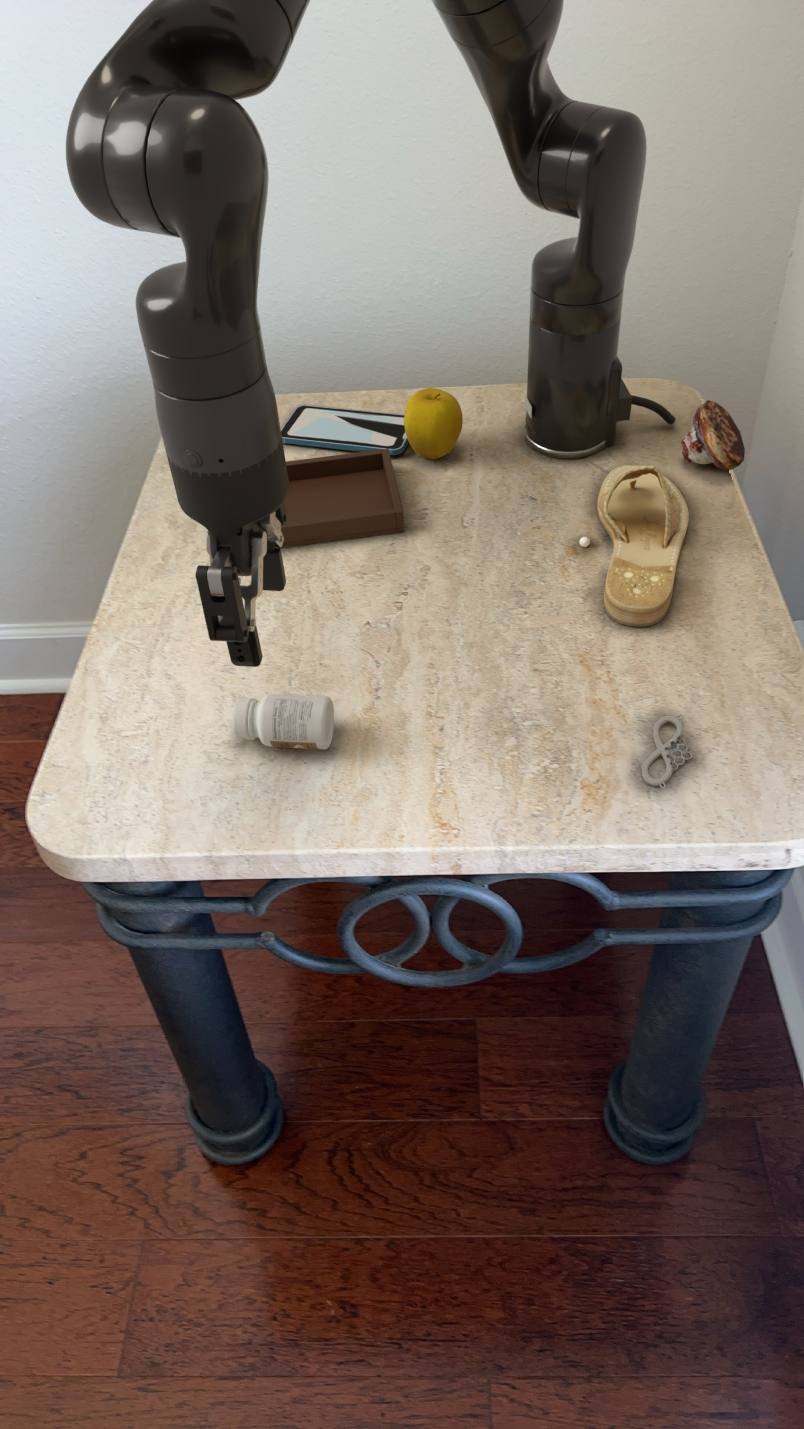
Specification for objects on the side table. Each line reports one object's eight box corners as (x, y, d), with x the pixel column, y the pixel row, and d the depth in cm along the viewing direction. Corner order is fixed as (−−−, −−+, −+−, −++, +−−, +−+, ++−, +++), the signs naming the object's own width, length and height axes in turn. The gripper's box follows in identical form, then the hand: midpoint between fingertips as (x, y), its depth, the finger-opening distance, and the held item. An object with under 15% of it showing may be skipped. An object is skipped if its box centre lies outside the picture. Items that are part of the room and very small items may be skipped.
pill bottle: (335, 741, 88) (246, 736, 89) (335, 691, 87) (245, 686, 88) (324, 756, 84) (231, 751, 85) (324, 704, 83) (230, 699, 84)
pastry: (707, 432, 104) (666, 460, 107) (752, 476, 107) (711, 501, 111) (704, 384, 109) (665, 412, 112) (747, 428, 112) (708, 454, 115)
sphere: (603, 594, 98) (600, 603, 99) (590, 533, 102) (587, 541, 103) (592, 594, 98) (589, 603, 99) (580, 532, 102) (577, 541, 103)
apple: (453, 473, 113) (452, 407, 107) (397, 465, 114) (393, 400, 108) (470, 441, 117) (469, 375, 111) (415, 434, 118) (412, 369, 112)
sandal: (524, 594, 98) (527, 524, 92) (617, 465, 112) (625, 397, 106) (653, 635, 94) (665, 565, 88) (735, 496, 107) (750, 426, 101)
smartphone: (298, 403, 123) (419, 415, 119) (299, 410, 123) (420, 423, 119) (274, 437, 118) (400, 451, 114) (276, 444, 119) (400, 458, 115)
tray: (389, 467, 114) (388, 448, 112) (404, 531, 106) (403, 511, 104) (229, 488, 113) (225, 468, 111) (232, 554, 105) (228, 534, 103)
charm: (637, 787, 82) (682, 795, 81) (637, 783, 82) (682, 790, 81) (657, 714, 87) (700, 721, 86) (657, 710, 87) (700, 716, 86)
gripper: (254, 503, 62) (290, 694, 73) (300, 380, 71) (325, 566, 83) (133, 499, 63) (188, 688, 74) (195, 378, 72) (234, 562, 84)
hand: (260, 623), depth 79 cm, fingers open, 8 cm apart
